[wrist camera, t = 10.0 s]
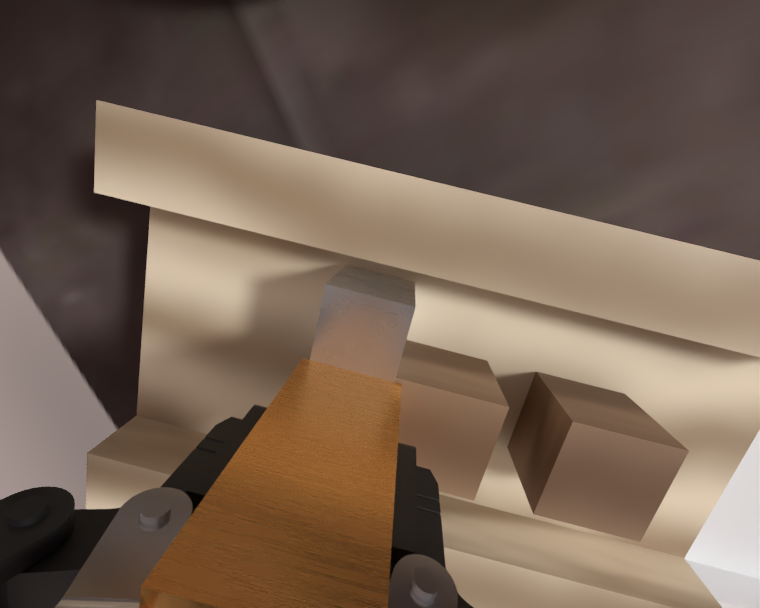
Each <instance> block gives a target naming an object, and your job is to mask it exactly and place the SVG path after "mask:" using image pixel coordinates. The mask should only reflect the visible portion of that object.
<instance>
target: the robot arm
mask: <svg viewBox="0 0 760 608" xmlns="http://www.w3.org/2000/svg"><path fill="white" fill-rule="evenodd" d="M266 409H267V407H263V406H259V405H254V406H253V407H252V408H251V409H250V410H249V412H248V413H247V414H246V415H245V417H244V418H243V419H239V418H235V417H230V418H228V419H226V420H224V421H222V422H220V423H218V424H216V425H215V426H214V427H213V428H212V430H211V431H210V432H209V433H208V434H207V435H206V436H205V439H203V440H202V441H201V442H200V443H199V444H198V445H197V446H196V449H194V450H193V451H192V452H191V453H190V454H189V455H188V457H187V458H186V459H185V460H184V461H183V462H182V463H181V464H180V466H179V467H178V468H177V469H176V470H175V471H174V472H173V473H172V475H171V476H170V477H169V478H168V479H167V480H166V481H165V482H164V484H163V485H162V486H161V487H160V488H153V489H149V490H146V491H143V492H141V493H139V494H137V495H135V496H133V497H132V498H130V499H129V500H128V501H126V502H125V503H124V504H123V505H122V507H121V508H114V509H80V510H74V506H75V503H74V498H73V496H72V495H71V493H69V492H68V491H66V490H64V489H62V488H57V487H38V488H32V489H28V490H24V491H21V492H18V493H15V494H13V495H10V496H9V497H6V498H4V499H2V500H0V608H141V607H139V603H140V592H141V585H142V584H143V583H144V581H145V580H146V578H147V577H148V576H149V574H150V573H151V571H152V570H153V568H154V567H155V566H156V564H157V563H158V561H159V560H160V559H161V557H162V556H163V554H164V553H165V552H166V550H167V549H168V547H169V546H170V545H171V543H172V542H173V540H174V539H175V537H176V536H177V535H178V533H179V532H180V530H181V529H182V528H183V526H184V525H185V523H186V522H187V521H188V519H189V518H190V516H191V515H192V513H193V512H194V511H195V509H196V508H197V506H198V505H199V504H200V502H201V501H202V499H203V498H204V497H205V495H206V494H207V492H208V491H209V490H210V488H211V487H212V485H213V484H214V482H215V481H216V480H217V478H218V477H219V475H220V474H221V473H222V471H223V470H224V468H225V467H226V466H227V464H228V463H229V461H230V460H231V459H232V457H233V456H234V454H235V453H236V451H237V450H238V449H239V447H240V446H241V444H242V443H243V442H244V440H245V439H246V437H247V436H248V435H249V433H250V432H251V430H252V429H253V427H254V426H255V425H256V423H257V422H258V420H259V419H260V418H261V416H262V415H263V413H264V412H265V411H266ZM440 513H441V510H440V502H439V488H438V483H437V481H436V479H435V477H434V476H433V474H432V472H431V470H430V469H427V468H423V467H419V466H416V447H414V446H410V445H406V444H402V443H399V442H398V451H397V467H396V483H395V499H394V515H393V531H392V547H391V563H390V579H389V595H388V608H474V607H472V606H471V605H470V604H468V603H467V602H466V601H465V600H464V599H463V598H462V597H461V596H460V595H459V594H458V592H457V588H456V585H455V583H454V581H453V578H452V577H451V575H450V574H449V572H448V571H447V570H446V566H445V555H444V544H443V533H442V521H441V515H440Z"/></svg>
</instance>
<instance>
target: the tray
mask: <svg viewBox="0 0 760 608" xmlns="http://www.w3.org/2000/svg"><path fill="white" fill-rule="evenodd" d="M685 560H686V561H687V562H688V564H689V565H690V566H691V568H692V569H693V570H694V571H695V573H696V574H697V575H698V577H699V578H700V579H701V581H702V582H703V583H704V585H705V586H706V587H707V588H708V590H709V591H710V592H711V594H712V595H713V596H714V598H715V599H716V600H717V601H718V603H719V604H720V605H721V607H722V608H760V430H759V431H758V433H757V435H756V437H755V438H754V440H753V442H752V443H751V445H750V447H749V449H748V450H747V452H746V454H745V455H744V457H743V459H742V461H741V462H740V464H739V466H738V467H737V469H736V471H735V472H734V474H733V476H732V478H731V479H730V481H729V483H728V484H727V486H726V488H725V490H724V491H723V493H722V495H721V496H720V498H719V500H718V501H717V503H716V505H715V507H714V508H713V510H712V512H711V513H710V515H709V517H708V519H707V520H706V522H705V524H704V525H703V527H702V529H701V530H700V532H699V534H698V536H697V537H696V539H695V541H694V542H693V544H692V546H691V548H690V549H689V551H688V553H687V554H686V556H685Z"/></svg>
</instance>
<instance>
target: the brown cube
mask: <svg viewBox="0 0 760 608" xmlns="http://www.w3.org/2000/svg"><path fill="white" fill-rule="evenodd" d="M507 448H508V450H509V453H510V456H511V458H512V461H513V463H514V466H515V468H516V471H517V474H518V476H519V479H520V481H521V484H522V487H523V489H524V492H525V494H526V497H527V500H528V502H529V505H530V507H531V510H532V512H533V514H534V515H538V516H542V517H546V518H549V519H553V520H557V521H561V522H565V523H569V524H573V525H576V526H580V527H584V528H588V529H592V530H596V531H599V532H603V533H607V534H611V535H615V536H619V537H622V538H626V539H630V540H634V541H638V542H641V540H642V538H643V536H644V534H645V532H646V531H647V529H648V527H649V525H650V523H651V521H652V519H653V518H654V516H655V514H656V512H657V510H658V508H659V506H660V504H661V503H662V501H663V499H664V497H665V495H666V493H667V491H668V490H669V488H670V486H671V484H672V482H673V480H674V478H675V477H676V475H677V473H678V471H679V469H680V467H681V465H682V464H683V462H684V460H685V458H686V456H687V454H688V452H689V450H687V449H686V448H685V447H684V446H683V445H682V444H681V443H680V442H679V441H677V440H676V439H675V438H674V437H673V436H672V435H671V434H670V433H668V432H667V431H666V430H665V429H664V428H663V427H662V426H661V425H660V424H658V423H657V422H656V421H655V420H654V419H653V418H652V417H651V416H649V415H648V414H647V413H646V412H645V411H644V410H643V409H642V408H641V407H639V406H638V405H637V404H636V403H635V402H634V401H633V400H632V399H630V398H629V397H628V396H627V395H626V394H624V393H620V392H616V391H612V390H608V389H604V388H600V387H596V386H592V385H588V384H584V383H580V382H576V381H572V380H568V379H564V378H561V377H557V376H553V375H549V374H545V373H541V372H537V371H536V373H535V375H534V378H533V381H532V383H531V386H530V388H529V391H528V394H527V396H526V399H525V402H524V404H523V407H522V409H521V412H520V415H519V417H518V420H517V423H516V425H515V428H514V430H513V433H512V436H511V438H510V441H509V444H508V446H507Z"/></svg>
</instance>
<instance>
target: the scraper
mask: <svg viewBox="0 0 760 608" xmlns="http://www.w3.org/2000/svg"><path fill="white" fill-rule="evenodd" d="M415 307H416V305H415V282H413V281H409V280H405V279H401V278H398V277H394V276H390V275H386V274H382V273H378V272H374V271H370V270H366V269H362V268H358V267H354V266H351V265H347V264H346V265H345V266H344V267H343V268H342V269H341V270H340V271H339V272H338V273H337V274H336V275H334V276H333V277H332V278H331V279H330V280H329V281H328V282H327V283H326V284H325V288H324V293H323V298H322V303H321V308H320V312H319V317H318V322H317V327H316V332H315V337H314V342H313V346H312V351H311V356H310V360H308V359H304V358H302V360H301V361H300V363H299V364H298V365H297V367H296V368H295V370H294V371H293V373H292V374H291V375H290V377H289V378H288V380H287V381H286V382H285V384H284V385H283V387H282V388H281V389H280V391H279V392H278V394H277V395H276V396H275V398H274V399H273V401H272V402H271V404H270V405H269V406H268V408H267V409H266V411H265V412H264V413H263V415H262V416H261V418H260V419H259V420H258V422H257V423H256V425H255V426H254V427H253V429H252V430H251V432H250V433H249V435H248V436H247V437H246V439H245V440H244V442H243V443H242V444H241V446H240V447H239V449H238V450H237V451H236V453H235V454H234V456H233V457H232V459H231V460H230V461H229V463H228V464H227V466H226V467H225V468H224V470H223V471H222V473H221V474H220V475H219V477H218V478H217V480H216V481H215V482H214V484H213V485H212V487H211V488H210V490H209V491H208V492H207V494H206V495H205V497H204V498H203V499H202V501H201V502H200V504H199V505H198V506H197V508H196V509H195V511H194V512H193V513H192V515H191V516H190V518H189V519H188V521H187V522H186V523H185V525H184V526H183V528H182V529H181V530H180V532H179V533H178V535H177V536H176V537H175V539H174V540H173V542H172V543H171V545H170V546H169V547H168V549H167V550H166V552H165V553H164V554H163V556H162V557H161V559H160V560H159V561H158V563H157V564H156V566H155V567H154V568H153V570H152V571H151V573H150V574H149V576H148V577H147V578H146V580H145V581H144V583H143V584H142V585H141V592H140V603H139V607H141V608H388V595H389V579H390V563H391V547H392V531H393V515H394V499H395V483H396V467H397V451H398V435H399V419H400V403H401V387H402V384H400V383H396V382H395V379H396V375H397V372H398V368H399V364H400V361H401V357H402V354H403V350H404V347H405V343H406V339H407V336H408V332H409V329H410V325H411V322H412V318H413V314H414V311H415Z"/></svg>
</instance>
